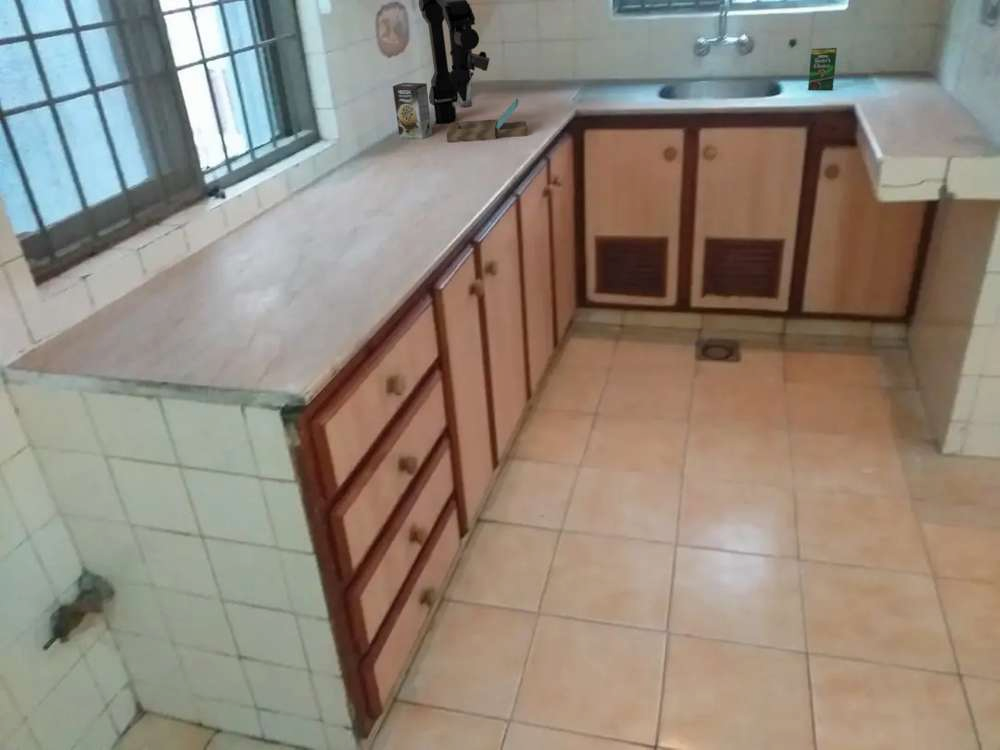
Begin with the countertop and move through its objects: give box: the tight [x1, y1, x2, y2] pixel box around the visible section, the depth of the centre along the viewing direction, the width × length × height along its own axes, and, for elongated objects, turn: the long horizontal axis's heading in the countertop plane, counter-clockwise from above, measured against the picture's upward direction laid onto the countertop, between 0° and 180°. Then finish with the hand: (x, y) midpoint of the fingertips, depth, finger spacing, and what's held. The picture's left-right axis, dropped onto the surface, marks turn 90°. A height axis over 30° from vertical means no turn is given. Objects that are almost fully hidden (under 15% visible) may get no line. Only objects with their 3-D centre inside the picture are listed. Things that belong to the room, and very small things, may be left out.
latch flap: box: [496, 98, 519, 129], centre depth 253 cm, size 9×10×1 cm
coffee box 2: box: [807, 47, 838, 91], centre depth 272 cm, size 8×3×13 cm, turn 62°
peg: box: [458, 80, 473, 109], centre depth 251 cm, size 4×4×8 cm
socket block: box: [446, 118, 528, 143], centre depth 256 cm, size 24×14×3 cm, turn 87°
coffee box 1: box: [392, 82, 433, 140], centre depth 258 cm, size 9×6×16 cm
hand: (465, 99), depth 252 cm, fingers closed on peg, 4 cm apart
